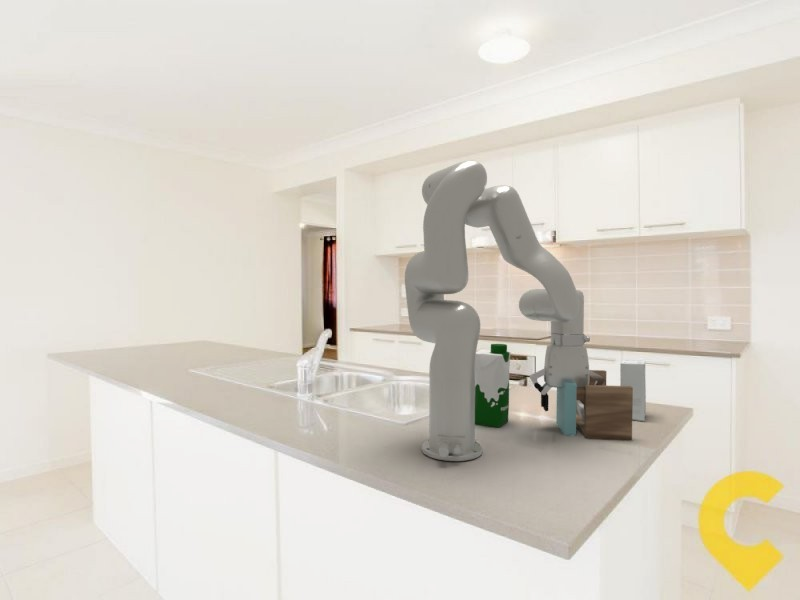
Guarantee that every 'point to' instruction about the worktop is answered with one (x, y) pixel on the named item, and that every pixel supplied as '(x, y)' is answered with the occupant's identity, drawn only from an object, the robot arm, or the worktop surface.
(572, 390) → the door panel
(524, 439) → the worktop surface
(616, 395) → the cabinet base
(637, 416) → the skincare box
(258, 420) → the worktop surface
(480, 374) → the milk carton
